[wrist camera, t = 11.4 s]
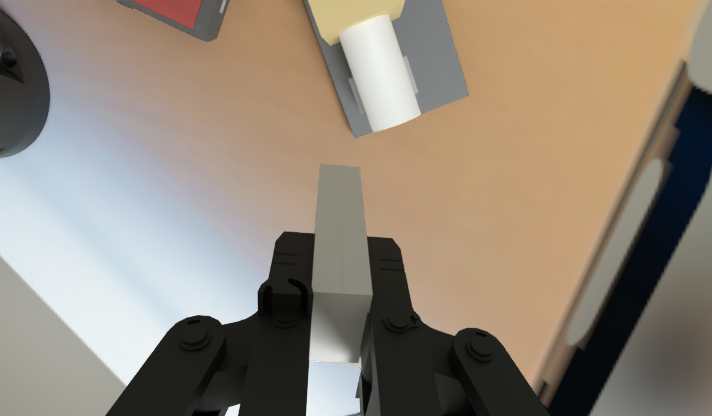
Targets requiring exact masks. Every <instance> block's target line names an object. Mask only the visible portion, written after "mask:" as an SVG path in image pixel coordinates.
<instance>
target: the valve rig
mask: <svg viewBox="0 0 712 416" xmlns="http://www.w3.org/2000/svg"><path fill="white" fill-rule="evenodd" d="M303 1H304V4H305V6H306V9H307V12H308V14H309V17H310V20H311V22H312V25H313V28H314V31H315V33H316V36H317V39H318V41H319V44H320V47H321V49H322V52H323V55H324V57H325V60H326V63H327V65H328V68H329V71H330V74H331V76H332V79H333V82H334V84H335V87H336V90H337V92H338V95H339V98H340V100H341V103H342V106H343V109H344V111H345V114H346V117H347V119H348V122H349V125H350V127H351V130H352V133H353V135H354V138H358V137H360V136H363V135H366V134H368V133H371V132H377V131H381V130H384V129H387V128H390V127H393V126H396V125H399V124H401V123H404V122H406V121H409V120H411V119H413V118H415V117H417V116H419V115H421V114H422V113H425V112H427V111H430V110H433V109H435V108H438V107H441V106H443V105H446V104H449V103H451V102H454V101H457V100H459V99H462V98H465V97H467V96H469V93H468V90H467V86H466V83H465V79H464V76H463V72H462V69H461V66H460V62H459V59H458V55H457V52H456V48H455V45H454V41H453V38H452V35H451V31H450V28H449V24H448V21H447V17H446V14H445V10H444V7H443V4H442V0H303Z"/></svg>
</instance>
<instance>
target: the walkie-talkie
mask: <svg viewBox="0 0 712 416" xmlns="http://www.w3.org/2000/svg"><path fill="white" fill-rule="evenodd" d="M117 2H118V3H120V4H122V5H124V6H126V7H129V8H132V9H133V8H135V9H138V10H139V11H141V12H144V13H145V14H148V15H150V16H151V17H154V18H156V19H158V20H161V21H162V22H164V23H167V24H168V25H170V26H173V27H174V28H177V29H179V30H181V31H183V32H185V33H187V34H190V35H191V36H193V37H196V38H197V39H200V40H203V41H207V42H209V41H212V40H214V39H217V36H218V33H219V30H220V27H221V24H222V21H223V18H224V15H225V12H226V9H227V6H228V3H229V0H117Z"/></svg>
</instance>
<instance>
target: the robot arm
mask: <svg viewBox="0 0 712 416" xmlns="http://www.w3.org/2000/svg"><path fill="white" fill-rule="evenodd" d="M49 102H50V95H49V85H48V79H47V75H46V72H45V69H44V66H43V63H42V61H41V59H40V56H39V54H38V53H37V51H36V49H35V47H34V46H33V44H32V43H31V41H30V40H29V38H28V37H27V36H26V34H25V33H24V32H23V31H22V30H21V29H20V27H19V26H18V25H17V24H16V23H15V22H14V21H12V20H11V19H10V18H9V17H8V16H6V15H5V14H4V13H2V12H1V11H0V158H4V157H8V156H12V155H15V154H17V153H19V152H21V151H23V150H24V149H26V148H27V147H28V146H30V145H31V144H32V143H33V142H34V141H35V140H36V139H37V137H38V136H39V134H40V133H41V131H42V129H43V127H44V125H45V122H46V119H47V116H48V111H49ZM404 270H405V269H404V264H403V259H402V255H401V250H400V248H399V247H398V245H397V244H396V243H395V241H394V240H393V239H392V238H381V237H368V236H367V234H366V224H365V215H364V205H363V195H362V185H361V176H360V167H349V166H338V165H327V164H320V173H319V184H318V196H317V208H316V220H315V233H314V234H313V233H299V232H285V231H284V232H283V233H282V235H281V236H280V237H279V238H278V239H277V240H276V242H275V248H274V253H273V258H272V264H271V268H270V273H269V278H268V280H266V281H265V282H264V283H263V284H261V286H260V288H259V290H258V311H257V312H256V313H255V314H253V315H252V316H250V317H248V318H246V319H244V320H241V321H238V322H234V323H229V324H224V325H222V324H221V323H220V322H219V321H218V320H217V319H215V318H212V317H210V316H202V315H197V316H192V317H187V318H185V319H183V320H181V321H179V322H177V323H176V324H175V325H174V326H173V327H172V328H171V329H170V330H169V331H168V332H167V333H166V335H165V336H164V337H163V339H162V340H161V341H160V343H159V344H158V345H157V347H156V348H155V349H154V351H153V352H152V353H151V355H150V356H149V357H148V359H147V360H146V362H145V363H144V364H143V366H142V367H141V368H140V370H139V371H138V372H137V374H136V375H135V376H134V378H133V379H132V380H131V382H130V383H129V384H128V386H127V387H126V389H125V390H124V391H123V393H122V394H121V395H120V397H119V398H118V399H117V401H116V402H115V403H114V405H113V406H112V408H111V409H110V410H109V411H108V413H107V414H106V416H225V414H226V412H227V410H228V407H231V406H234V405H237V404H240V409H239V414H238V416H306V405H307V388H308V371H309V361H316V362H341V363H359V359H360V354H361V373H360V377H359V382H358V387H357V392H356V397H355V398H360V415H361V416H550V415H549V414H548V412H547V411H546V409H545V408H544V406H543V405H542V403H541V402H540V400H539V399H538V397H537V396H536V394H535V393H534V391H533V390H532V388H531V387H530V385H529V384H528V382H527V381H526V379H525V378H524V376H523V375H522V373H521V372H520V370H519V369H518V367H517V366H516V364H515V363H514V361H513V360H512V358H511V357H510V355H509V354H508V352H507V351H506V349H505V348H504V346H503V345H502V344H501V343H500V342H499V341H498V339H497V338H496V337H494V336H493V335H491V334H490V333H488V332H487V331H484V330H481V329H478V328H465V329H463V330H460V331H459V332H458V333H457V334H456V335H455V336H453V335H450V334H447V333H444V332H441V331H438V330H435V329H433V328H431V327H429V326H427V325H426V324H424V323H423V322H422V321H421V319H420V317H419V315H418V314H417V313H416V312H415V311H414V310H413V307H412V303H411V298H410V294H409V289H408V284H407V279H406V274H405V272H404Z"/></svg>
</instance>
